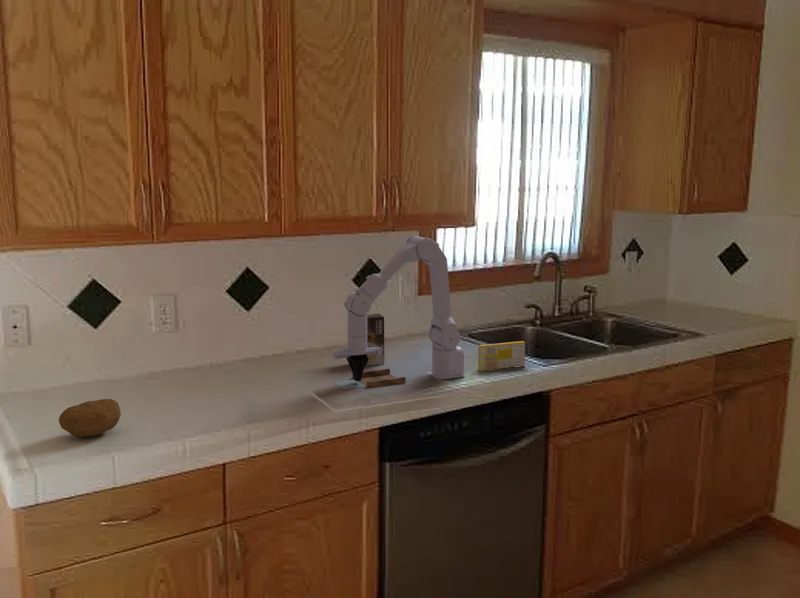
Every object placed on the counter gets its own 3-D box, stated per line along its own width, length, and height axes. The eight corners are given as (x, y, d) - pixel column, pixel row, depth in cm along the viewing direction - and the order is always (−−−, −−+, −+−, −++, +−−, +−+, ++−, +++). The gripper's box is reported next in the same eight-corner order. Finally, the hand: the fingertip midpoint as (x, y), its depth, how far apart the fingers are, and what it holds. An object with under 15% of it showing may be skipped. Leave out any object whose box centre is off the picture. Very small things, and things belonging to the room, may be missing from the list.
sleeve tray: (388, 375, 238) (388, 368, 238) (405, 384, 229) (405, 377, 228) (352, 379, 233) (352, 372, 232) (368, 389, 223) (368, 382, 223)
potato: (53, 436, 182) (51, 403, 181) (112, 423, 192) (110, 392, 190) (68, 448, 175) (66, 414, 174) (129, 434, 185) (127, 401, 183)
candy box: (521, 365, 253) (522, 340, 251) (525, 367, 251) (526, 342, 249) (477, 369, 247) (478, 344, 245) (480, 371, 245) (481, 345, 243)
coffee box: (379, 361, 255) (380, 313, 252) (384, 366, 249) (385, 316, 246) (352, 362, 253) (352, 314, 250) (356, 367, 247) (356, 318, 244)
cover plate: (354, 383, 231) (354, 379, 231) (365, 390, 224) (365, 386, 224) (332, 385, 228) (332, 381, 228) (343, 393, 221) (343, 389, 221)
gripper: (374, 330, 232) (373, 374, 234) (328, 334, 225) (328, 379, 227) (384, 334, 226) (384, 380, 228) (338, 339, 219) (338, 386, 221)
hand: (357, 380), depth 227 cm, fingers closed
